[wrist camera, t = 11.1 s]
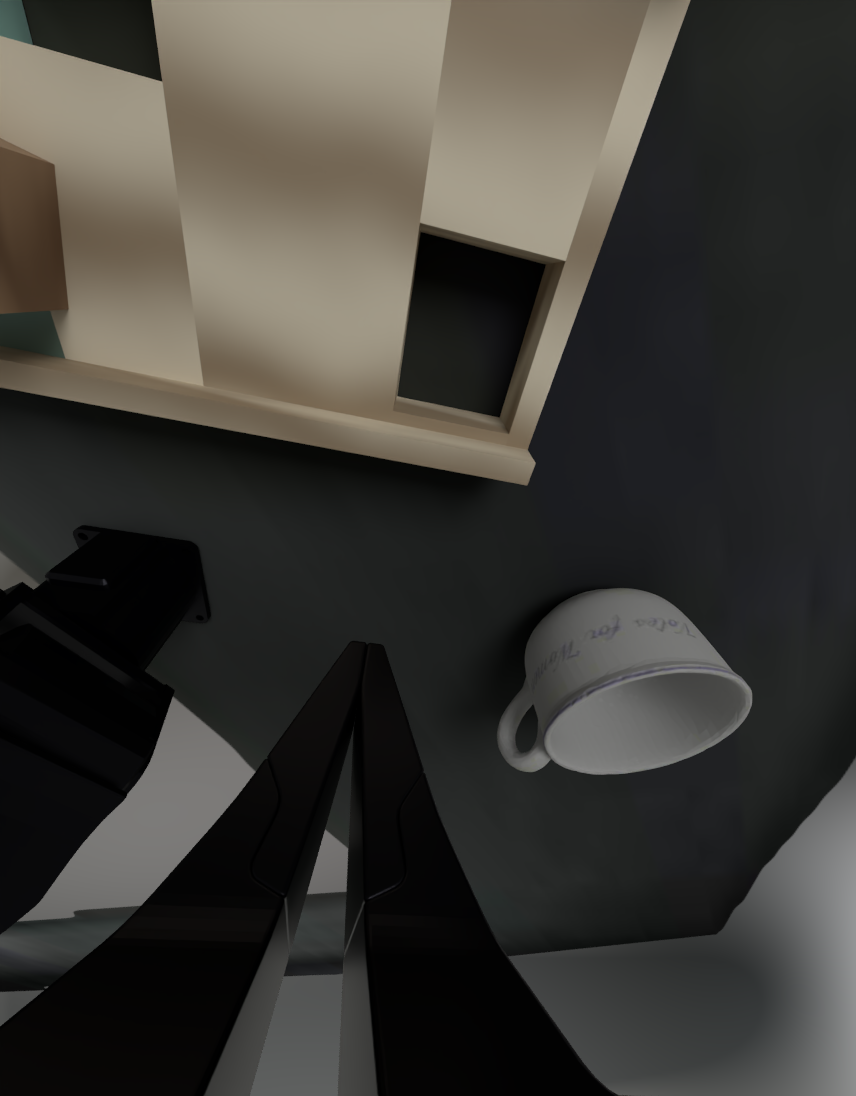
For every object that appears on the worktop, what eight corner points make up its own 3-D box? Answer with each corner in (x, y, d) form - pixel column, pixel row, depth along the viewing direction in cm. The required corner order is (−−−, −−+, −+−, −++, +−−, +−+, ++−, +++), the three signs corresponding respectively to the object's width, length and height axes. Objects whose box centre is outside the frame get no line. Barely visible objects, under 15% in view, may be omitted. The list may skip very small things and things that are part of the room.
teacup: (658, 537, 22) (756, 643, 16) (682, 644, 28) (763, 756, 21) (448, 618, 26) (456, 731, 19) (506, 698, 31) (528, 807, 25)
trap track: (509, 450, 19) (529, 490, 15) (-73, 336, 16) (-222, 351, 12) (678, -54, 11) (814, -237, 7) (-487, -499, 8) (-1366, -1255, 4)
